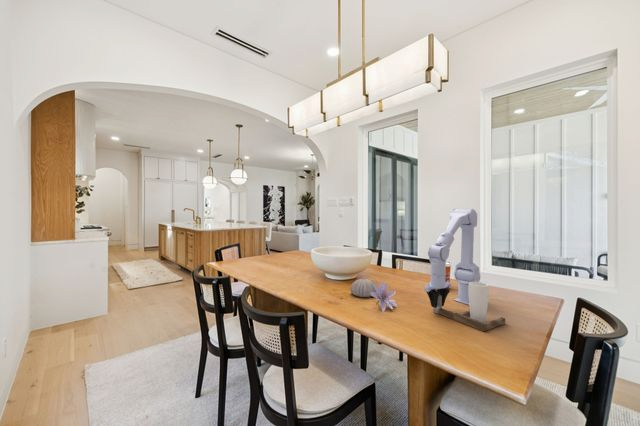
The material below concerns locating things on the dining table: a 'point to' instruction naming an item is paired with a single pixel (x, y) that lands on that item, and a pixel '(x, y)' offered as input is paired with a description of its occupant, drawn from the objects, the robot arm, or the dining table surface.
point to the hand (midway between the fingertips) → (437, 306)
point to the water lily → (384, 296)
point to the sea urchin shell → (362, 288)
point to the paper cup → (447, 272)
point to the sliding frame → (467, 318)
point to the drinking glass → (478, 300)
